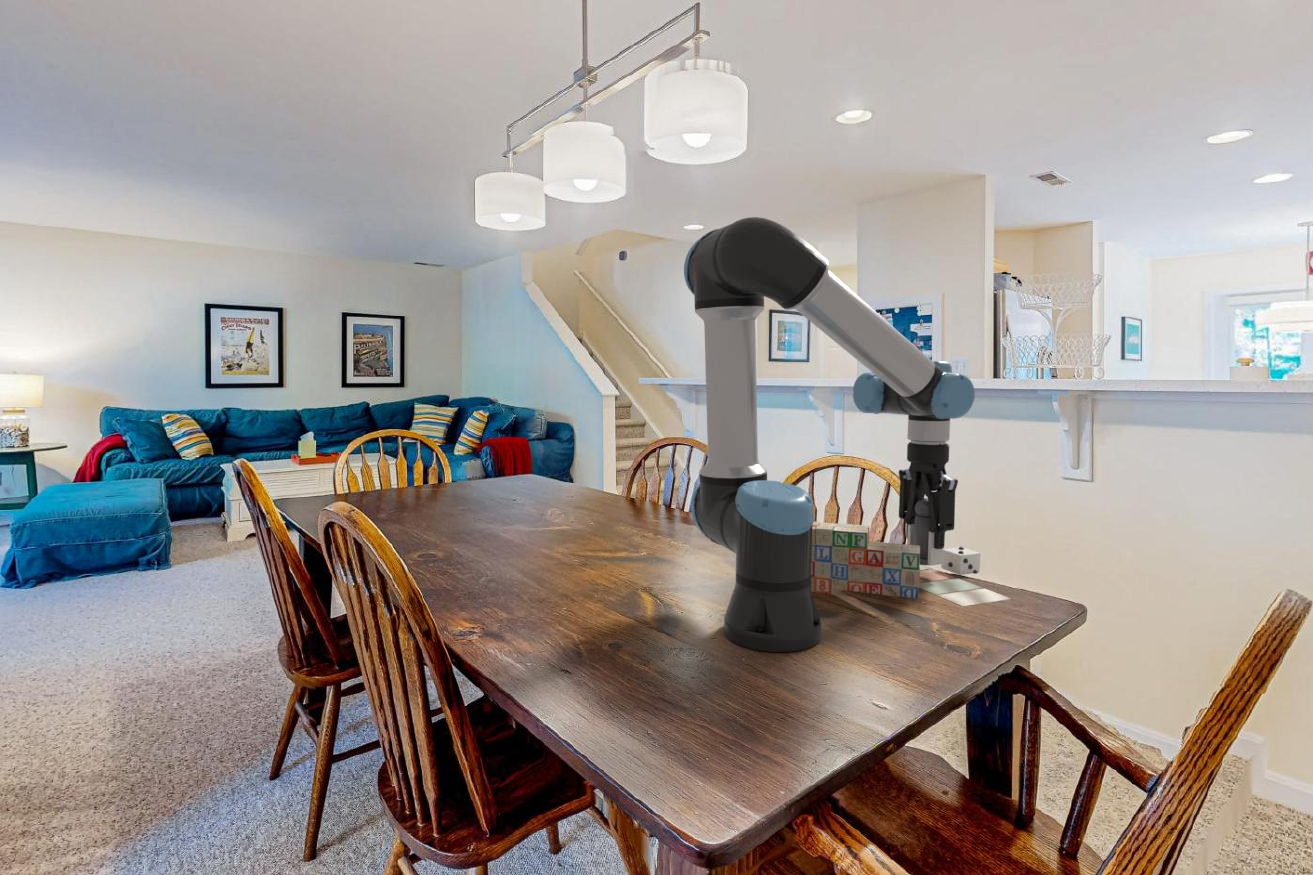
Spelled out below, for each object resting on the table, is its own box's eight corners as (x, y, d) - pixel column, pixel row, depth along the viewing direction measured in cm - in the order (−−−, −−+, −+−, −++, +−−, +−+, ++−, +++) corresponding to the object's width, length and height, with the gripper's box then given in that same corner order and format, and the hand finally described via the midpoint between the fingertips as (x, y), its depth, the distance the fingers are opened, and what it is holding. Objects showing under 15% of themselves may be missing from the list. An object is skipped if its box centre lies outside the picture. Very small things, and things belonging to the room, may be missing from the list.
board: (961, 612, 120) (961, 606, 119) (865, 570, 144) (866, 565, 144) (1014, 604, 124) (1014, 598, 124) (913, 564, 148) (913, 560, 148)
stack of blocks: (919, 594, 129) (921, 529, 128) (918, 605, 124) (921, 537, 122) (802, 581, 137) (804, 519, 136) (797, 590, 131) (798, 526, 130)
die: (959, 581, 137) (960, 553, 136) (939, 573, 142) (940, 547, 142) (981, 578, 139) (982, 551, 138) (960, 570, 144) (961, 544, 144)
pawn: (922, 566, 133) (925, 501, 132) (904, 559, 138) (906, 497, 137) (944, 563, 135) (946, 499, 134) (925, 556, 140) (927, 495, 138)
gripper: (980, 446, 127) (974, 571, 129) (911, 436, 144) (907, 547, 146) (947, 448, 124) (942, 575, 127) (881, 438, 141) (878, 550, 144)
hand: (923, 560), depth 136 cm, fingers closed on pawn, 5 cm apart
